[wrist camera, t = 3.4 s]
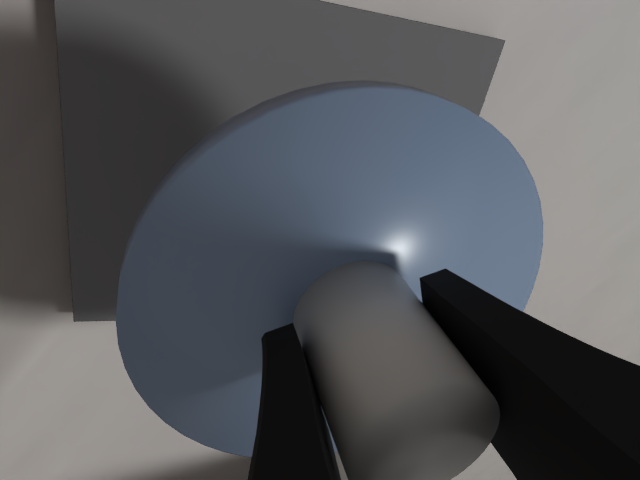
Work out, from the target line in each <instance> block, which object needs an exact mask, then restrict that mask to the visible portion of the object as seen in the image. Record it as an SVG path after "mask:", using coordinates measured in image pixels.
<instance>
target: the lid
mask: <svg viewBox="0 0 640 480" xmlns="http://www.w3.org/2000/svg"><path fill="white" fill-rule="evenodd" d="M542 246H543V219H542V211H541V203H540V199H539V196H538V192H537V189H536V186H535V182H534V180H533V178H532V176H531V174H530V172H529V170H528V168H527V166H526V164H525V162H524V160H523V158H522V157H521V156H520V154H519V153H518V152H517V150H516V149H515V148H514V146H513V145H512V144H511V142H510V141H509V140H508V139H507V138H506V137H504V136H503V135H502V134H501V133H500V132H499V131H498V130H497V129H496V128H495V127H494V126H493V125H492V124H490V123H488V122H487V121H485V120H484V119H482V118H481V117H479V116H477V115H476V114H474V113H473V112H471V111H470V110H468V109H466V108H464V107H462V106H459V105H457V104H455V103H453V102H451V101H449V100H447V99H445V98H442V97H440V96H437V95H435V94H433V93H430V92H428V91H425V90H423V89H419V88H415V87H411V86H406V85H402V84H398V83H392V82H380V81H367V80H359V81H344V82H330V83H325V84H321V85H316V86H311V87H306V88H301V89H297V90H294V91H291V92H288V93H286V94H283V95H280V96H277V97H274V98H271V99H269V100H266V101H263V102H261V103H259V104H258V105H256V106H254V107H252V108H250V109H248V110H246V111H244V112H242V113H240V114H238V115H236V116H234V117H232V118H231V119H229V120H228V121H226V122H225V123H223V124H222V125H221V126H219V127H218V128H216V129H215V130H213V131H212V132H210V133H209V134H207V135H206V136H205V137H203V138H202V139H201V140H200V141H199V142H198V143H197V144H196V145H194V146H193V147H192V148H191V149H190V150H189V151H188V152H187V153H186V154H184V155H183V156H182V157H181V158H180V159H179V160H178V161H177V162H176V163H175V165H174V166H173V167H172V168H171V169H170V170H169V172H168V173H167V174H166V175H165V176H164V178H163V179H162V180H161V181H160V182H159V184H158V185H157V186H156V188H155V189H154V191H153V192H152V194H151V196H150V197H149V199H148V200H147V202H146V204H145V205H144V207H143V209H142V210H141V212H140V213H139V216H138V218H137V220H136V223H135V225H134V227H133V230H132V232H131V234H130V237H129V239H128V242H127V246H126V250H125V254H124V258H123V261H122V265H121V270H120V279H119V287H118V297H117V310H116V326H117V337H118V345H119V349H120V352H121V356H122V359H123V363H124V366H125V369H126V371H127V373H128V375H129V377H130V379H131V381H132V383H133V385H134V387H135V389H136V390H137V392H138V393H139V394H140V396H141V397H142V398H143V400H144V401H145V402H146V404H147V405H148V406H149V408H150V409H151V410H153V411H154V412H155V413H156V414H157V415H158V416H159V417H160V418H161V419H162V420H163V421H164V422H165V423H167V424H168V425H170V426H171V427H172V428H174V429H175V430H177V431H178V432H180V433H181V434H183V435H184V436H186V437H188V438H190V439H192V440H194V441H196V442H198V443H201V444H203V445H205V446H208V447H211V448H214V449H217V450H220V451H223V452H227V453H231V454H236V455H241V456H245V457H252V453H253V448H254V442H255V436H256V430H257V422H258V413H259V405H260V396H261V383H262V341H261V338H262V337H263V335H264V333H266V332H268V331H271V330H274V329H277V328H280V327H282V326H285V325H288V324H291V323H293V324H294V327H295V330H296V332H297V335H298V338H299V341H300V344H301V347H302V350H303V353H304V356H305V359H306V362H307V365H308V368H309V371H310V374H311V377H312V380H313V383H314V386H315V389H316V392H317V396H318V399H319V401H320V404H321V407H322V410H323V413H324V416H325V419H326V422H327V425H328V428H329V432H330V436H331V440H332V444H333V448H334V452H335V453H336V452H338V453H339V456H340V459H341V462H342V464H343V467H344V470H345V473H346V475H347V478H348V480H450V479H452V478H453V477H455V476H457V475H458V474H459V473H461V472H462V471H463V470H465V469H466V468H467V467H468V466H470V465H471V464H472V463H473V462H474V461H475V460H476V459H477V458H478V457H479V456H480V455H481V454H482V453H483V452H484V450H485V449H486V448H487V446H488V445H489V444H490V442H491V440H492V439H493V437H494V435H495V433H496V430H497V428H498V424H499V419H500V409H499V405H498V402H497V401H496V399H495V397H494V396H493V395H492V393H491V392H490V391H489V389H488V388H487V387H486V386H485V384H484V383H483V382H482V380H481V379H480V378H479V376H478V375H477V374H476V373H475V371H474V370H473V369H472V367H471V366H470V365H469V363H468V362H467V361H466V360H465V358H464V357H463V356H462V354H461V353H460V352H459V350H458V349H457V348H456V347H455V345H454V344H453V343H452V341H451V340H450V339H449V337H448V336H447V335H446V334H445V332H444V331H443V330H442V328H441V327H440V326H439V324H438V323H437V322H436V320H435V319H434V318H433V317H432V315H431V314H430V313H429V311H428V310H427V309H426V307H425V306H424V305H423V304H422V296H421V287H420V277H423V276H426V275H428V274H431V273H434V272H437V271H440V270H442V269H445V268H446V269H448V270H449V271H451V272H453V273H455V274H457V275H458V276H460V277H462V278H464V279H465V280H467V281H469V282H470V283H472V284H474V285H476V286H477V287H479V288H481V289H483V290H484V291H486V292H488V293H490V294H491V295H493V296H495V297H497V298H498V299H500V300H502V301H504V302H506V303H507V304H509V305H511V306H513V307H515V308H516V309H518V310H520V311H522V312H523V310H524V309H525V306H526V304H527V302H528V299H529V297H530V294H531V292H532V290H533V287H534V283H535V280H536V276H537V273H538V269H539V265H540V259H541V253H542Z"/></svg>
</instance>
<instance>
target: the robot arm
mask: <svg viewBox="0 0 640 480" xmlns="http://www.w3.org/2000/svg"><path fill="white" fill-rule="evenodd" d="M420 287H421V296H422V304H423V305H424V306H425V307H426V309H427V310H428V311H429V313H430V314H431V315H432V317H433V318H434V319H435V320H436V322H437V323H438V324H439V326H440V327H441V328H442V330H443V331H444V332H445V334H446V335H447V336H448V337H449V339H450V340H451V341H452V343H453V344H454V345H455V347H456V348H457V349H458V350H459V352H460V353H461V354H462V356H463V357H464V358H465V360H466V361H467V362H468V363H469V365H470V366H471V367H472V369H473V370H474V371H475V373H476V374H477V375H478V376H479V378H480V379H481V380H482V382H483V383H484V384H485V386H486V387H487V388H488V389H489V391H490V392H491V393H492V395H493V396H494V397H495V399H496V401H497V402H498V405H499V409H500V419H499V424H498V428H497V430H496V433H495V435H494V437H493V439H492V440H491V443H492V445H493V446H494V448H495V449H496V450H497V452H498V453H499V454H500V456H501V457H502V459H503V460H504V461H505V463H506V464H507V466H508V467H509V468H510V470H511V471H512V473H513V474H514V476H515V477H516V479H517V480H640V366H638V365H636V364H633V363H631V362H628V361H626V360H623V359H621V358H618V357H616V356H613V355H611V354H609V353H606V352H604V351H602V350H600V349H597V348H595V347H593V346H591V345H588V344H586V343H584V342H582V341H580V340H578V339H576V338H573V337H571V336H569V335H567V334H565V333H563V332H561V331H559V330H557V329H555V328H553V327H551V326H549V325H547V324H545V323H543V322H541V321H539V320H537V319H535V318H534V317H532V316H530V315H528V314H526V313H524V312H522V311H520V310H518V309H516V308H515V307H513V306H511V305H509V304H507V303H506V302H504V301H502V300H500V299H498V298H497V297H495V296H493V295H491V294H490V293H488V292H486V291H484V290H483V289H481V288H479V287H477V286H476V285H474V284H472V283H470V282H469V281H467V280H465V279H464V278H462V277H460V276H458V275H457V274H455V273H453V272H451V271H449V270H448V269H446V268H445V269H442V270H440V271H437V272H434V273H431V274H428V275H426V276H423V277H420ZM261 341H262V383H261V396H260V405H259V413H258V422H257V430H256V436H255V442H254V448H253V453H252V459H251V465H250V470H249V476H248V480H341V477H340V473H339V468H338V464H337V460H336V456H335V452H334V448H333V444H332V440H331V436H330V432H329V428H328V425H327V422H326V419H325V416H324V413H323V410H322V407H321V404H320V401H319V399H318V396H317V392H316V389H315V386H314V383H313V380H312V377H311V374H310V371H309V368H308V365H307V362H306V359H305V356H304V353H303V350H302V347H301V344H300V341H299V338H298V335H297V332H296V330H295V327H294V324H293V323H291V324H288V325H285V326H282V327H280V328H277V329H274V330H271V331H268V332H266V333H264V335H263V337H262V338H261Z"/></svg>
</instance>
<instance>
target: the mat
mask: <svg viewBox="0 0 640 480" xmlns="http://www.w3.org/2000/svg"><path fill="white" fill-rule="evenodd" d="M54 5H55V21H56V38H57V54H58V70H59V87H60V103H61V120H62V136H63V153H64V169H65V186H66V202H67V219H68V235H69V252H70V268H71V285H72V301H73V318H74V322H76V321H116V310H117V297H118V287H119V279H120V270H121V265H122V261H123V258H124V254H125V250H126V246H127V242H128V239H129V237H130V234H131V232H132V230H133V227H134V225H135V223H136V220H137V218H138V216H139V213H140V212H141V210H142V209H143V207H144V205H145V204H146V202H147V200H148V199H149V197H150V196H151V194H152V192H153V191H154V189H155V188H156V186H157V185H158V184H159V182H160V181H161V180H162V179H163V178H164V176H165V175H166V174H167V173H168V172H169V170H170V169H171V168H172V167H173V166H174V165H175V163H176V162H177V161H178V160H179V159H180V158H181V157H182V156H183V155H184V154H186V153H187V152H188V151H189V150H190V149H191V148H192V147H193V146H194V145H196V144H197V143H198V142H199V141H200V140H201V139H202V138H203V137H205V136H206V135H207V134H209V133H210V132H212V131H213V130H215V129H216V128H218V127H219V126H221V125H222V124H223V123H225V122H226V121H228V120H229V119H231V118H232V117H234V116H236V115H238V114H240V113H242V112H244V111H246V110H248V109H250V108H252V107H254V106H256V105H258V104H259V103H261V102H263V101H266V100H269V99H271V98H274V97H277V96H280V95H283V94H286V93H288V92H291V91H294V90H297V89H301V88H306V87H311V86H316V85H321V84H325V83H330V82H344V81H359V80H367V81H380V82H392V83H398V84H402V85H406V86H411V87H415V88H419V89H423V90H425V91H428V92H430V93H433V94H435V95H437V96H440V97H442V98H445V99H447V100H449V101H451V102H453V103H455V104H457V105H459V106H462V107H464V108H466V109H468V110H470V111H471V112H473V113H474V114H476V115H477V116H479V114H480V111H481V109H482V106H483V103H484V100H485V97H486V94H487V91H488V89H489V86H490V83H491V80H492V77H493V74H494V71H495V69H496V66H497V63H498V60H499V57H500V54H501V52H502V49H503V46H504V43H505V40H501V39H497V38H493V37H488V36H483V35H478V34H474V33H469V32H464V31H460V30H455V29H450V28H446V27H441V26H436V25H432V24H427V23H422V22H418V21H413V20H408V19H404V18H399V17H394V16H389V15H385V14H380V13H375V12H371V11H366V10H361V9H357V8H352V7H347V6H343V5H338V4H333V3H329V2H324V1H319V0H54Z"/></svg>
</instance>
